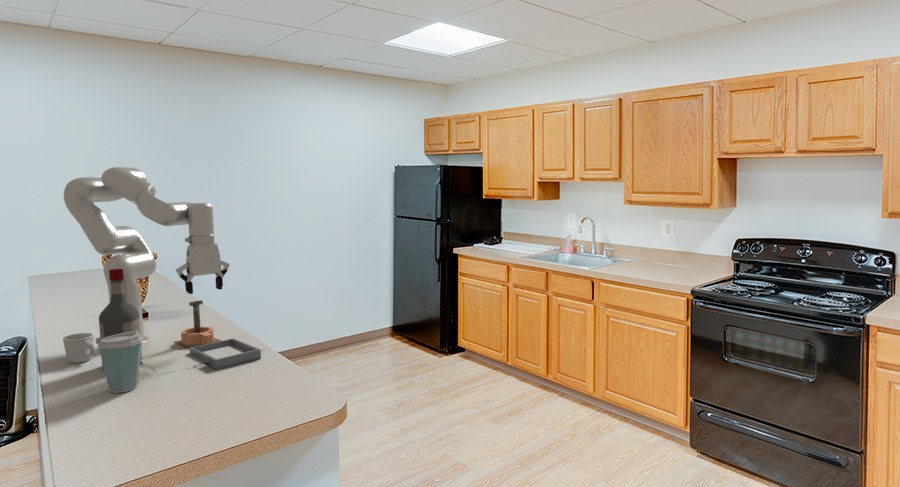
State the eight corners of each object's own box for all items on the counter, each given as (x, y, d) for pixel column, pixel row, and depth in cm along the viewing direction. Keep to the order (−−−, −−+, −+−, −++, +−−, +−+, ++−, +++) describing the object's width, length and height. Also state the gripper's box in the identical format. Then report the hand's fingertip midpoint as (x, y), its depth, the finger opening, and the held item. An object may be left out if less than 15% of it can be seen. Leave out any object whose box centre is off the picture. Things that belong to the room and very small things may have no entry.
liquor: (144, 360, 172) (138, 266, 169) (132, 370, 163) (126, 271, 160) (112, 362, 171) (106, 267, 167) (99, 371, 162) (92, 272, 158)
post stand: (187, 352, 180) (185, 307, 178) (173, 345, 188) (170, 301, 186) (223, 344, 189) (221, 301, 187) (207, 338, 197) (205, 296, 195)
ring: (194, 350, 179) (193, 338, 178) (177, 341, 188) (176, 330, 188) (224, 343, 186) (223, 332, 186) (206, 335, 195) (205, 325, 195)
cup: (106, 360, 172) (104, 335, 172) (80, 367, 165) (78, 342, 164) (85, 355, 177) (83, 331, 176) (59, 362, 170) (57, 337, 169)
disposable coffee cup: (98, 399, 141) (94, 342, 140) (102, 385, 151) (99, 332, 149) (145, 391, 146) (141, 337, 144) (146, 379, 156) (143, 328, 154)
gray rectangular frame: (215, 369, 163) (215, 360, 163) (190, 356, 176) (189, 347, 175) (260, 358, 174) (260, 349, 174) (233, 346, 186) (233, 338, 186)
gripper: (179, 243, 171) (182, 296, 173) (232, 239, 184) (235, 288, 185) (170, 241, 176) (173, 293, 178) (222, 237, 189) (224, 286, 190)
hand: (204, 291), depth 182 cm, fingers open, 9 cm apart
